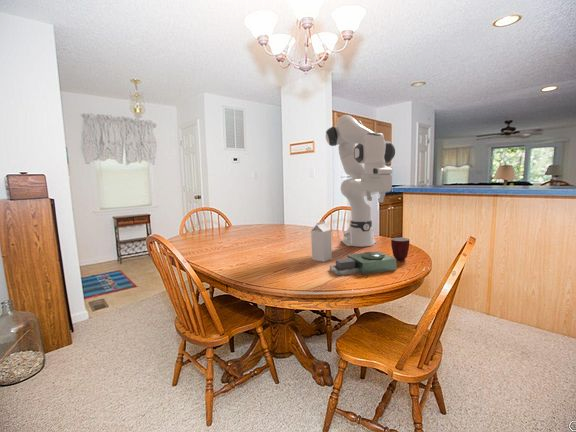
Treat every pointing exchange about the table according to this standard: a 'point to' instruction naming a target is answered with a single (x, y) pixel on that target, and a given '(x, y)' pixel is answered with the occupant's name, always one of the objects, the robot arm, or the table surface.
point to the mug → (400, 248)
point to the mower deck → (368, 264)
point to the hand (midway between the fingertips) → (375, 201)
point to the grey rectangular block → (345, 264)
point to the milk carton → (321, 242)
